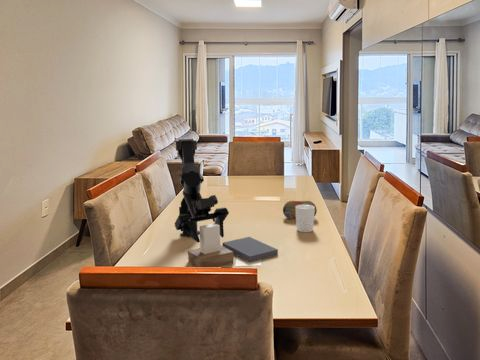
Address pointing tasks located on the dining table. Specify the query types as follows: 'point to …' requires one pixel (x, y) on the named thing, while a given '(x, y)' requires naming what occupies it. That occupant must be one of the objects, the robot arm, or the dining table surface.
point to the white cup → (305, 217)
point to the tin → (290, 208)
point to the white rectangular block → (210, 238)
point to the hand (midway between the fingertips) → (211, 239)
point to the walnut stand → (210, 258)
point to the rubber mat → (250, 249)
